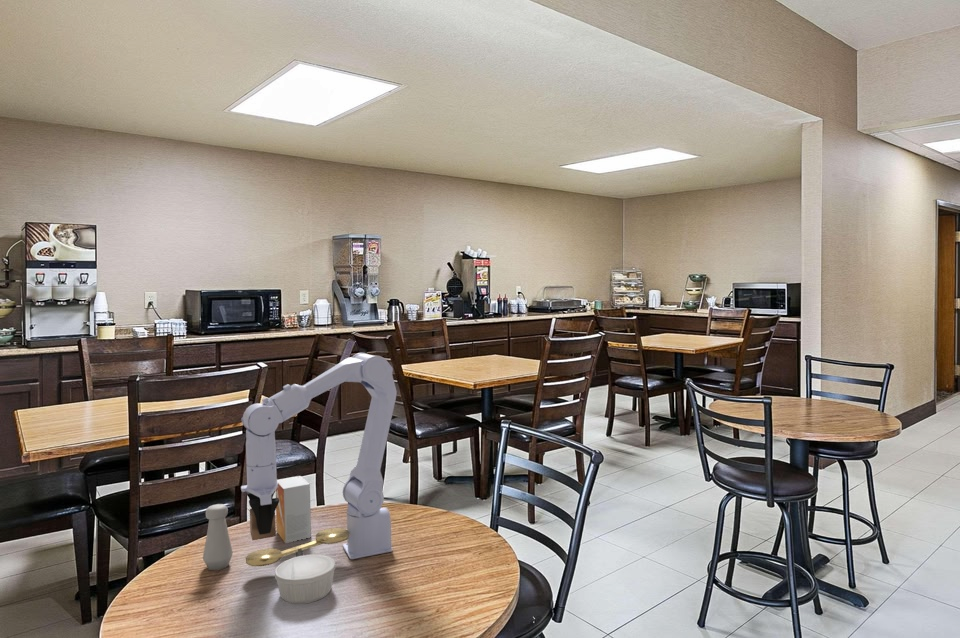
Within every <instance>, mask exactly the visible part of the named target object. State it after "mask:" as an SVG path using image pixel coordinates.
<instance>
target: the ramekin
mask: <svg viewBox="0 0 960 638" xmlns="http://www.w3.org/2000/svg"><path fill="white" fill-rule="evenodd" d="M335 570H336V561H335V560H334V558H332V557H330V556H328V555H323V554H303V556H298V557H295V556H294V557H292V558H290V559H287V560H284V561H282V562H281V563H280V564H279V565H277V566H276V567H275V569H274V578H275V580H276V584H277V588H278V592H279V595H280V597H281V598H282V599H283V600H284V601H285V602H287V603H289V604H295V605H305V604H309V603H313V602H316V601H319V600H321V599H323V598H325V597H326V596H327V595H328V594H329V593H330V591H331V589H332V586H333V582H334V574H335Z"/></svg>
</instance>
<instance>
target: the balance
mask: <svg viewBox="0 0 960 638" xmlns="http://www.w3.org/2000/svg"><path fill="white" fill-rule="evenodd" d="M348 538H349V531H348V530H347V529H346V528H341V527H340V528H339V527H333V528H326V529H323V530H320V531H318V532H317V533H316V534H315V540H313V541H310V542H309V541H308V542H306V543H304V544H303V543H302V544H301V545H297V546H293V547H291V548H287V549H285V550H280V549H276V548H264V549H259V550H255V551H253V552H252V551H251V552H250V553H249V554H247V555H246V556H245V564H246V565H248V566H251V567H266V566H271V565H274V564H276V563H277V562H279V561H281V560H282V558H283V557H287V556H288V555H292V554H295V555H294V557H298V556H303V555H304V550H308V549H310V548H314V547H317V546H321V545H323V544H324V545H325V544H326V545H329V544H330V545H331V544H334V545H335V544H339V543H342V542H344V541H346V540H347V539H348Z"/></svg>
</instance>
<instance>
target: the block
mask: <svg viewBox="0 0 960 638" xmlns="http://www.w3.org/2000/svg"><path fill="white" fill-rule="evenodd" d="M249 530H250V531H249V532H250V536H251V540H252V541H257V540H258V541H259V540H263V539H269V538H274V537H276V536H277V526H276V512H275V513H274V516H273V522H272V528H271V532H270V533H267V534H261V535H260V534H259V531H258V527H257V522H256V517H255V514H254V512H253V510H252V508H249Z"/></svg>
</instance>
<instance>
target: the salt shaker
mask: <svg viewBox="0 0 960 638" xmlns="http://www.w3.org/2000/svg"><path fill="white" fill-rule="evenodd" d="M228 511H229V509H228V506H227V505H226V504H223V503H217V504H212V505H210V506H208V507H207V508H206V510H205V518H206V519H207V520H208V526H207V531H206V538H205V544H204V548H203V555H202V559H203V562H204V563H205V565H206V567H207V569H208V570H209V571H220V570H223V569H226V568H227V567H228V566H229V564H230V562H231V560H232V558H233V547H232V544H231V543H232V542H231V538H230V533H229V530H228V525H227V521H226V520H227V519H226V517H227V516H228V513H229V512H228Z"/></svg>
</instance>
